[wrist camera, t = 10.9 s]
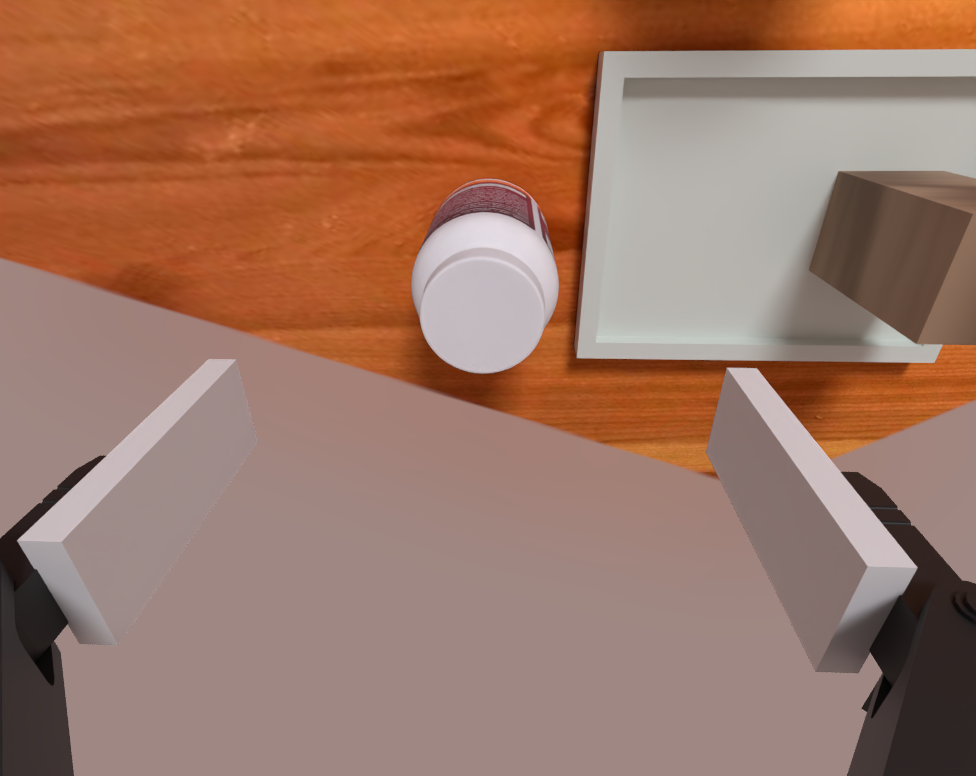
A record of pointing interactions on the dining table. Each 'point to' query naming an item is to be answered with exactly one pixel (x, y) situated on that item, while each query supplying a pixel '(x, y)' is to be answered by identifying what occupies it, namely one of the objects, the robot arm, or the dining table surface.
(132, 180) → the dining table surface
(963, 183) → the walnut block
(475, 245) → the pill bottle
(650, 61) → the tray
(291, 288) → the dining table surface
